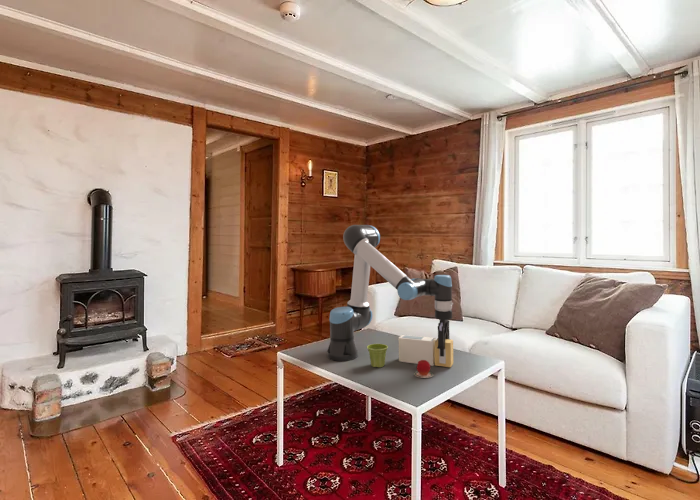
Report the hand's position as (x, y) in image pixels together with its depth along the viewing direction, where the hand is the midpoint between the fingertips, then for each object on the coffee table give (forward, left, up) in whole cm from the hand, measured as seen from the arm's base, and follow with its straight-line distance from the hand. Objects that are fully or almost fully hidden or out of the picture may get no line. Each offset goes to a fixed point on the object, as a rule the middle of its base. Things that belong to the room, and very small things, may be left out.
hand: (444, 360), depth 168 cm
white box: (-12, 0, -2) cm, 12 cm away
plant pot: (-27, -12, -2) cm, 30 cm away
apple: (-5, -16, -2) cm, 17 cm away
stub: (0, 0, -2) cm, 2 cm away
